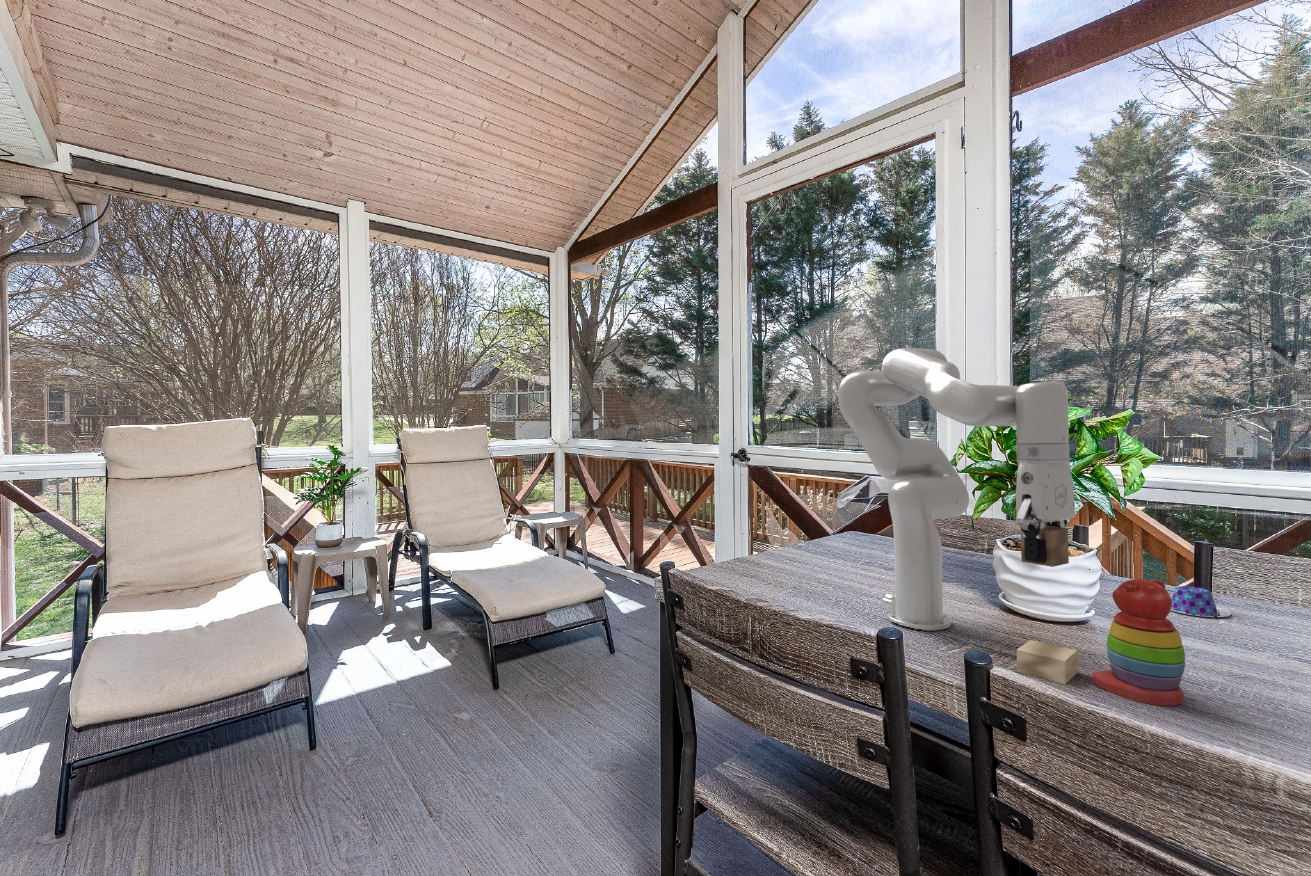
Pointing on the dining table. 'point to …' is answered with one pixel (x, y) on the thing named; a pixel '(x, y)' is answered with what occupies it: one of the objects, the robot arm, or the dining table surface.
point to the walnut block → (1052, 546)
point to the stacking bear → (1144, 646)
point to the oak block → (1047, 661)
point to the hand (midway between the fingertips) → (1044, 558)
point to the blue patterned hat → (1195, 602)
